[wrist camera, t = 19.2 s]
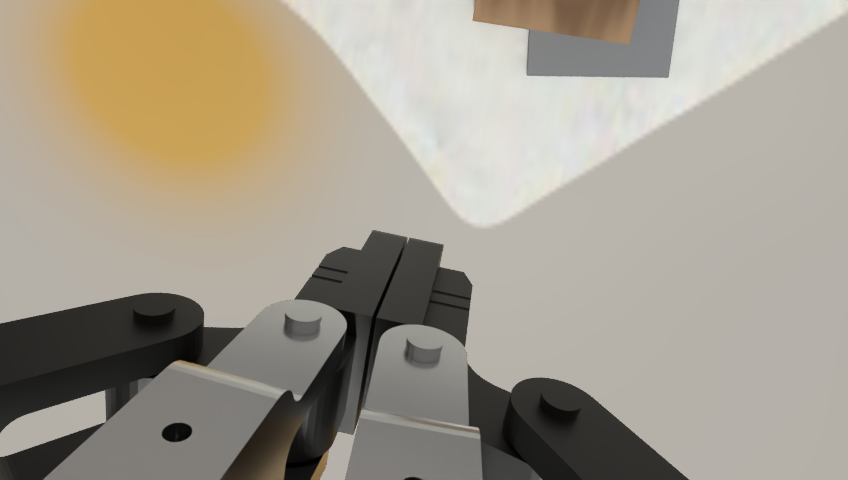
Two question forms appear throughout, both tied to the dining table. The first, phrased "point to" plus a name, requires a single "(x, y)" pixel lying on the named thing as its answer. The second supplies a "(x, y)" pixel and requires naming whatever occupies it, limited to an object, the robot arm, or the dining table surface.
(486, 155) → the dining table surface
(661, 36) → the rubber mat
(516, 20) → the walnut slab
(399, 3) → the dining table surface
